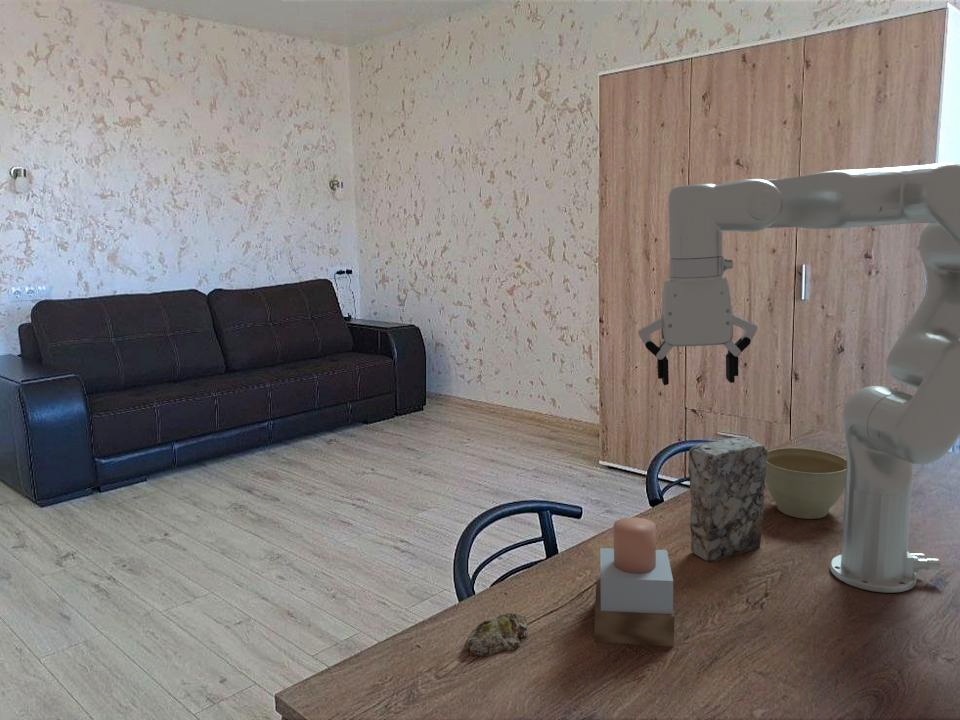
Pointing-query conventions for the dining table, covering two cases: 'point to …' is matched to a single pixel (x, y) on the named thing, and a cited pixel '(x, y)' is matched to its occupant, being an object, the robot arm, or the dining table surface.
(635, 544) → the dusty-pink cylinder
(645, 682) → the dining table surface
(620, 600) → the slate cap block
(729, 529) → the stone block
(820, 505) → the planter bowl
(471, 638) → the mineral rock
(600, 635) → the walnut base block
